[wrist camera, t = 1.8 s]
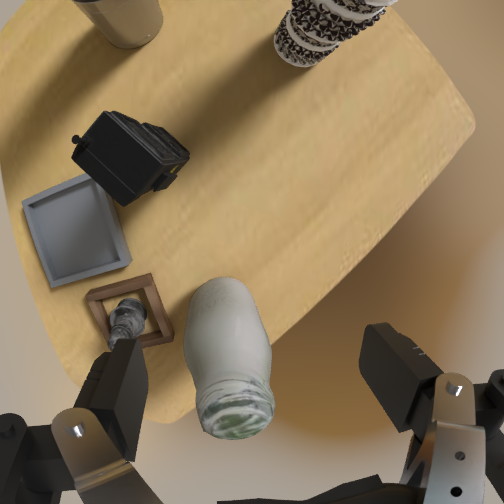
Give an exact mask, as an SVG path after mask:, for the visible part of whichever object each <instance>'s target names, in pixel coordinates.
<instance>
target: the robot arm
mask: <svg viewBox="0 0 504 504" xmlns="http://www.w3.org/2000/svg"><path fill="white" fill-rule="evenodd" d="M72 1H73V2H74V3H75V4H76V5H77V7H79V9H80V10H81V11H82V12H83V13H84V14H85V15H86V16H87V17H88V18H89V19H90V20H91V21H92V23H93V24H94V25H95V26H96V27H97V28H98V29H99V30H100V31H101V32H102V33H103V35H104V36H105V37H106V38H107V39H108V40H109V41H110V42H111V43H112V44H113V45H115V46H116V47H119V48H124V49H131V48H136V47H140V46H142V45H144V44H146V43H147V42H149V41H150V40H152V39H153V38H154V37H155V36H156V35H157V33H158V32H159V30H160V28H161V26H162V23H163V15H162V11H161V8H160V5H159V2H158V0H72ZM359 369H360V373H361V375H362V376H363V378H364V379H365V381H366V383H367V384H368V386H369V387H370V389H371V390H372V392H373V393H374V395H375V396H376V398H377V399H378V401H379V402H380V404H381V405H382V407H383V409H384V410H385V412H386V413H387V415H388V416H389V418H390V419H391V421H392V422H393V424H394V426H395V427H396V429H397V430H398V432H399V433H401V432H404V431H407V430H410V429H412V430H413V432H414V433H413V435H412V437H411V440H410V445H409V449H408V453H407V458H406V462H405V465H404V469H403V473H402V477H401V479H400V482H399V484H398V483H382V481H381V479H380V478H379V475H378V474H376V475H373V476H370V477H367V478H363V479H359V480H356V481H352V482H348V483H344V484H341V485H339V486H337V487H335V488H333V489H331V490H329V491H326V492H324V493H322V494H319V495H317V496H315V497H313V498H310V499H308V500H303V501H293V500H275V499H261V498H257V499H246V500H233V501H217V504H483V500H484V486H485V474H486V476H487V477H488V479H489V480H490V482H491V484H492V485H493V486H494V488H495V490H496V491H497V493H498V495H499V496H500V498H501V499H502V501H503V503H504V434H503V433H502V432H501V430H500V427H501V425H502V424H503V422H504V369H502V370H501V369H500V370H496V371H494V372H493V373H492V374H491V376H490V379H489V381H488V383H483V384H472V382H471V381H470V380H469V379H468V378H466V377H465V376H463V375H461V374H458V373H444V372H443V371H442V370H441V369H440V368H439V367H438V366H437V365H436V364H435V363H434V362H433V361H432V360H431V359H430V358H429V357H428V356H427V355H426V354H424V352H423V351H422V350H421V349H420V348H418V346H417V345H416V344H415V343H414V342H413V341H412V340H411V339H410V338H408V337H406V336H404V335H402V334H401V333H397V332H396V330H394V328H392V326H391V325H390V324H388V323H387V322H384V323H376V324H369V325H367V326H366V328H365V332H364V337H363V342H362V347H361V352H360V358H359ZM147 393H148V374H147V370H146V365H145V360H144V355H143V350H142V345H141V342H140V340H139V339H128V338H118V339H117V341H116V343H115V345H114V348H113V350H112V352H104V353H103V354H101V355H100V356H99V357H98V358H97V359H96V360H95V361H94V363H93V365H92V367H91V369H90V372H89V374H88V376H87V380H85V382H84V384H83V386H82V389H81V391H80V393H79V395H78V398H77V400H76V402H75V404H74V407H73V408H70V409H66V410H64V411H62V412H60V413H59V414H58V415H57V416H56V417H55V418H54V419H53V421H52V424H50V425H41V426H29V427H28V426H27V424H26V422H25V421H24V419H23V418H22V417H21V416H19V415H17V414H13V413H6V414H2V415H0V504H59V503H60V498H61V493H62V491H68V490H77V492H78V494H79V496H80V498H81V499H82V501H83V503H84V504H163V503H162V501H161V500H160V499H159V498H158V497H157V496H156V494H155V493H154V492H153V491H152V490H151V488H150V487H149V486H148V485H147V484H146V482H145V481H144V480H143V478H142V477H141V476H140V475H139V473H138V472H137V471H136V470H135V468H134V467H133V466H132V464H131V463H130V462H126V461H131V462H135V456H136V451H137V444H138V439H139V434H140V429H141V423H142V418H143V413H144V408H145V403H146V398H147Z"/></svg>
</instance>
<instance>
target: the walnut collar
mask: <svg viewBox="0 0 504 504" xmlns="http://www.w3.org/2000/svg"><path fill="white" fill-rule="evenodd" d="M141 288H144V290H145V293H146V295H147V298H148V300H149V303H150V305H151V308H152V310H153V313H154V315H155V318H156V320H157V322H158V325H159V327H160V330H161V331H156V332H152V333H148V334H143V335H140V336H138V337H135V338H133V339H139V340H140V342H141V345H142V348H146V347H150V346H155V345H160V344H164V343H169V342H173V339H174V331H173V329H172V327H171V324H170V322H169V319H168V317H167V314H166V312H165V309H164V306H163V304H162V301H161V299H160V296H159V293H158V291H157V288H156V285H155V283H154V280H153V277H152V274H151V273H149V274H145V275H142V276H138V277H134V278H131V279H127V280H123V281H120V282H116V283H113V284H109V285H105V286H102V287H98V288H95V289H91V290H90V291H89V292H88V293H87V294H86V299H87V301H88V303H89V306H90V308H91V310H92V312H93V314H94V317H95V319H96V321H97V323H98V325H99V327H100V329H101V331H102V334H103V336H104V338H105V340H106V342H107V344H108V339H109V337H110V330H111V328H112V326H111V324H110V319H109V317H108V315H107V312H106V310H105V308H104V306H103V303H102V301H101V299H103V298H107V297H111V296H114V295H118V294H122V293H126V292H129V291H133V290H137V289H141ZM111 352H112V351H111Z"/></svg>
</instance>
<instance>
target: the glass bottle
mask: <svg viewBox="0 0 504 504" xmlns="http://www.w3.org/2000/svg"><path fill="white" fill-rule="evenodd" d="M183 348H184V356H185V359H186V363H187V366H188V369H189V370H190V372H191V374H192V377H193V381H194V385H195V387H196V390H197V392H196V408H197V413H198V416H199V420H200V423H201V426H202V428H203V431H204V432H207V433H208V434H210V435H212V436H214V437H217V438H220V439H229V440H236V439H244V438H248V437H251V436H253V435H256V434H257V433H259V432H260V431H262V430H263V429H264V428H265V427H266V426H267V425H268V424H269V423H270V422H271V420H272V418H273V415H274V411H275V400H274V397H273V393H272V391H271V389H270V387H269V379H270V372H271V361H272V360H271V359H272V353H271V346H270V342H269V338H268V335H267V333H266V330H265V328H264V326H263V323H262V321H261V318H260V315H259V312H258V309H257V306H256V304H255V301H254V299H253V297H252V295H251V293H250V291H249V290H248V288H247V287H246V286H245V285H244V284H243V283H242V282H240V281H239V280H236V279H234V278H230V277H218V278H214V279H211V280H209V281H207V282H206V283H204V284H203V285H201V286H200V287H199V288H198V289H197V290H196V292H195V293H194V295H193V296H192V298H191V301H190V304H189V309H188V315H187V322H186V328H185V335H184V345H183Z"/></svg>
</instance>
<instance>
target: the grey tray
mask: <svg viewBox="0 0 504 504" xmlns="http://www.w3.org/2000/svg"><path fill="white" fill-rule="evenodd" d="M21 202H22V206H23V209H24V212H25V216H26V219H27V222H28V225H29V229H30V232H31V235H32V238H33V241H34V244H35V246H36V249H37V252H38V255H39V257H40V260H41V263H42V265H43V268H44V271H45V273H46V276H47V278H48V281H49V283H50V285H51V288H53V287H57V286H60V285H63V284H67V283H70V282H73V281H77V280H80V279H83V278H87V277H90V276H94V275H97V274H100V273H104V272H107V271H111V270H114V269H117V268H121V267H124V266H128V265H129V264H130V263H131V261H132V257H131V254H130V252H129V249H128V246H127V243H126V240H125V237H124V234H123V231H122V228H121V225H120V221H119V218H118V215H117V212H116V209H115V205H114V202H113V199H112V197H111V196H110V195H109V194H108V193H107V192H106V191H105V190H104V189H103V188H102V187H101V186H99V185H98V184H97V183H96V182H95V181H94V180H93V179H92V178H91V177H90V176H89V175H88V174H87V173H85V174H82V175H80V176H77V177H75V178H73V179H70V180H68V181H65V182H63V183H61V184H58V185H56V186H54V187H51V188H49V189H47V190H45V191H42V192H40V193H38V194H36V195H34V196H32V197H30V198H27V199H25V200H23V201H21Z"/></svg>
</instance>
